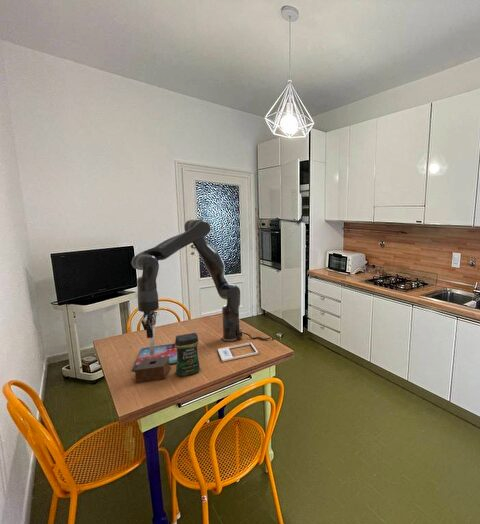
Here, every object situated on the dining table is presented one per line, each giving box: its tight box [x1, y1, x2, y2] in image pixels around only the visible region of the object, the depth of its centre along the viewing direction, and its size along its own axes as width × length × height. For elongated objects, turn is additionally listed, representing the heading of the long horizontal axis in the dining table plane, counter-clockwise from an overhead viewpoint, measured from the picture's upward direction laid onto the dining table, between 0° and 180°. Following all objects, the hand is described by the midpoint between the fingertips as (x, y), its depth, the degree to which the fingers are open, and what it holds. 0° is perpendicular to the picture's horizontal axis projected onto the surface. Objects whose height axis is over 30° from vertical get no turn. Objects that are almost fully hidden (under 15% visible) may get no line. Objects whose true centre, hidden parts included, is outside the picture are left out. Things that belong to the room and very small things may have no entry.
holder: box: [134, 356, 171, 384], centre depth 134 cm, size 11×11×6 cm
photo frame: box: [217, 342, 259, 363], centre depth 158 cm, size 15×1×18 cm
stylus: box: [149, 325, 156, 356], centre depth 132 cm, size 2×2×14 cm
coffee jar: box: [174, 332, 201, 377], centre depth 136 cm, size 10×8×19 cm
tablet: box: [132, 342, 177, 372], centre depth 152 cm, size 19×25×1 cm
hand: (150, 336), depth 131 cm, fingers closed on stylus, 1 cm apart
